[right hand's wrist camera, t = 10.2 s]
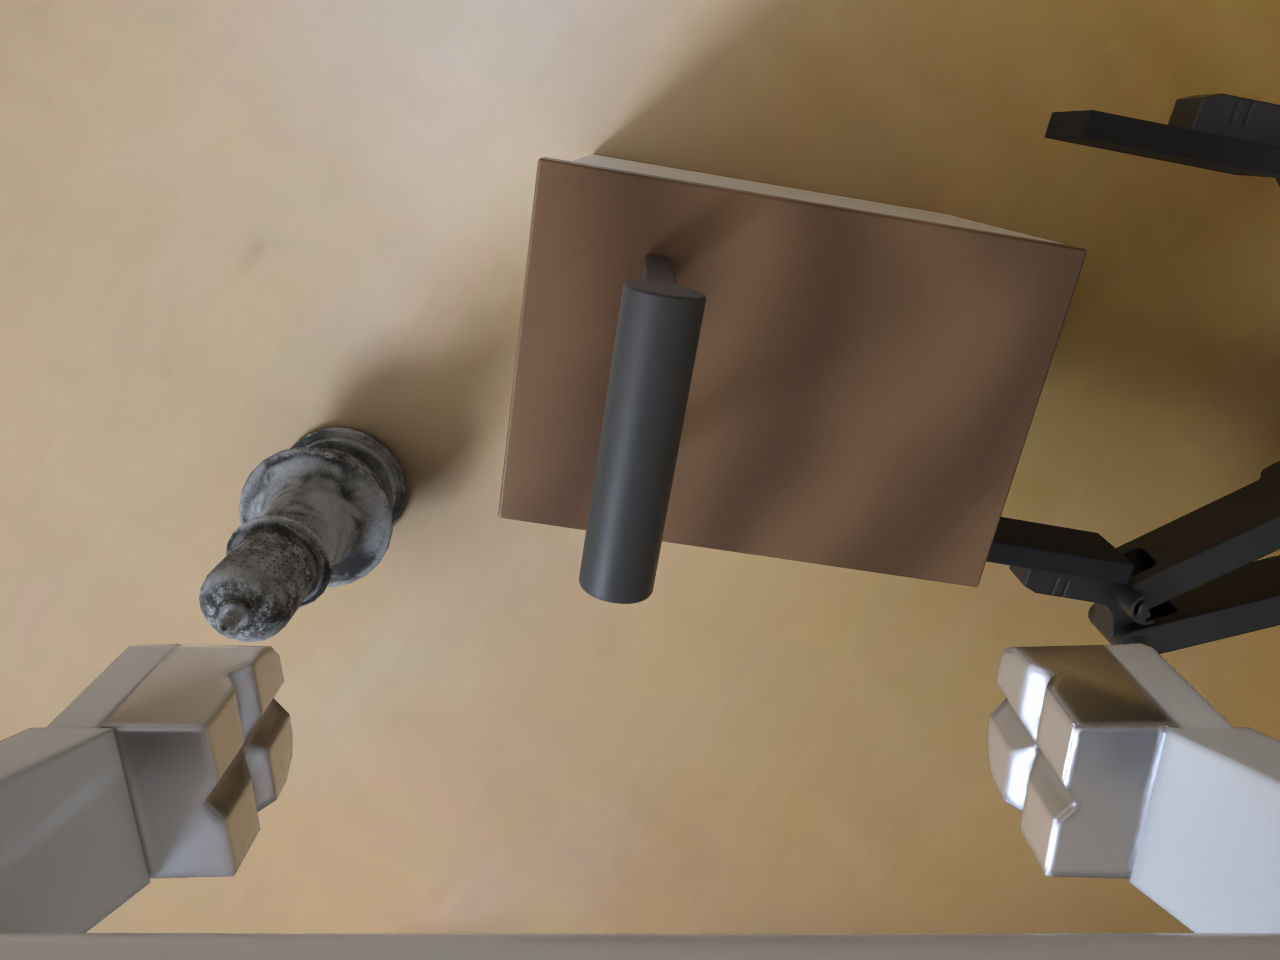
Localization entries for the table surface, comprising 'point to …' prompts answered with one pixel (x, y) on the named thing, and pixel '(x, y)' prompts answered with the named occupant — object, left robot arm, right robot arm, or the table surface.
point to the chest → (794, 193)
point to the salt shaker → (304, 530)
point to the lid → (771, 377)
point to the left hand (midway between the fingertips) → (995, 342)
